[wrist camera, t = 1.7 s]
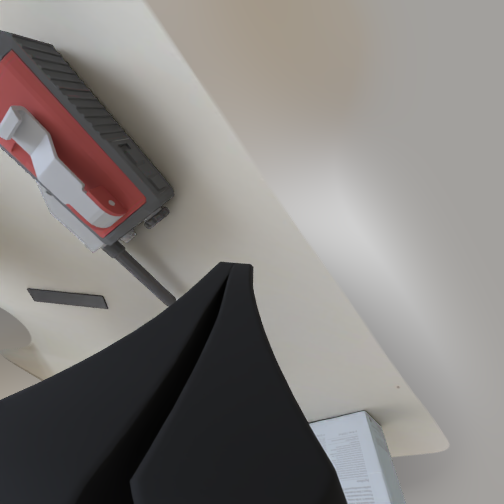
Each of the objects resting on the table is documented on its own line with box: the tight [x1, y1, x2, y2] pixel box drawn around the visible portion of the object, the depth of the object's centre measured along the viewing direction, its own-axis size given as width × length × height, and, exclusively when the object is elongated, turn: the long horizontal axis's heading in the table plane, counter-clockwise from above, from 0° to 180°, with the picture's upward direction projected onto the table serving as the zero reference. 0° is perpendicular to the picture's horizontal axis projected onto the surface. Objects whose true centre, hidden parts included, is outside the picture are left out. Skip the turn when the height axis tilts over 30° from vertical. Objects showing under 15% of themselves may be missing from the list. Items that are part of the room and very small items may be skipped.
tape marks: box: [27, 289, 108, 309], centre depth 19 cm, size 26×9×1 cm, turn 179°
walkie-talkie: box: [0, 30, 176, 306], centre depth 17 cm, size 9×4×20 cm
